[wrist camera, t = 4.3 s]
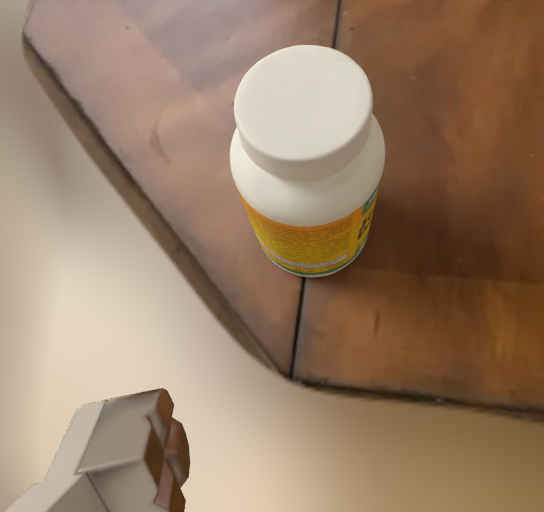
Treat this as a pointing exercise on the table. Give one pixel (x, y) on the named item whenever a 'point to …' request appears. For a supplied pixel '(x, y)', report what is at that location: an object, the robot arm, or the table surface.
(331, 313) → the table surface
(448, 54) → the table surface
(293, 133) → the supplement bottle
